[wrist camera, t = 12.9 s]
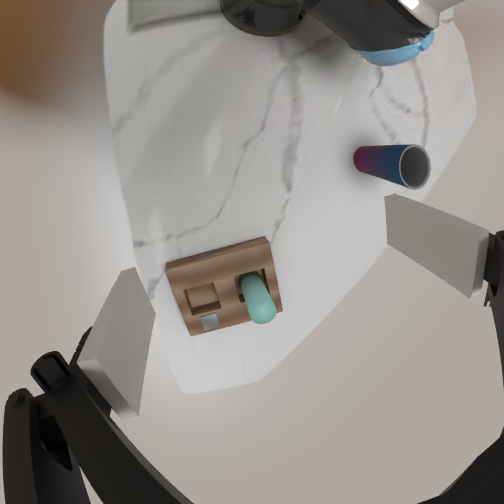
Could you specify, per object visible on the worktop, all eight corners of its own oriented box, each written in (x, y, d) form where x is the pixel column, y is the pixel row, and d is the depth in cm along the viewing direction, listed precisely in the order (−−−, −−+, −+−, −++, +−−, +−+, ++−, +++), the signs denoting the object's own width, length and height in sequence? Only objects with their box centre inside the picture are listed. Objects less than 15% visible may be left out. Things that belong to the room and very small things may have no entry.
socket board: (167, 262, 50) (165, 271, 47) (264, 236, 52) (269, 243, 48) (190, 325, 55) (190, 337, 52) (278, 302, 57) (283, 311, 53)
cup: (376, 179, 52) (427, 192, 38) (347, 174, 50) (396, 186, 37) (380, 145, 50) (432, 150, 36) (351, 138, 48) (401, 140, 34)
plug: (236, 272, 53) (247, 305, 41) (257, 266, 53) (273, 297, 42) (241, 290, 54) (253, 327, 43) (261, 285, 54) (278, 319, 43)
